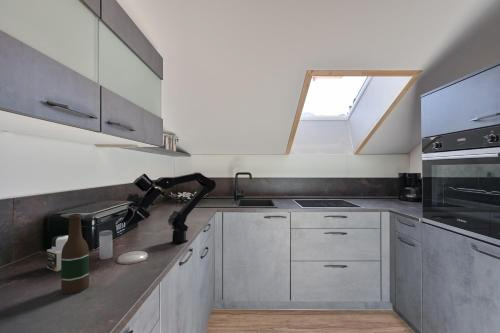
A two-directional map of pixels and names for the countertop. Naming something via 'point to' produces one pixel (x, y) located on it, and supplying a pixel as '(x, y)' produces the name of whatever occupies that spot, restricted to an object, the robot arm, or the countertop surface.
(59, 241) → the medicine bottle
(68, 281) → the beer bottle
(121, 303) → the countertop surface
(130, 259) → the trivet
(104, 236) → the grey-topped white cylinder
